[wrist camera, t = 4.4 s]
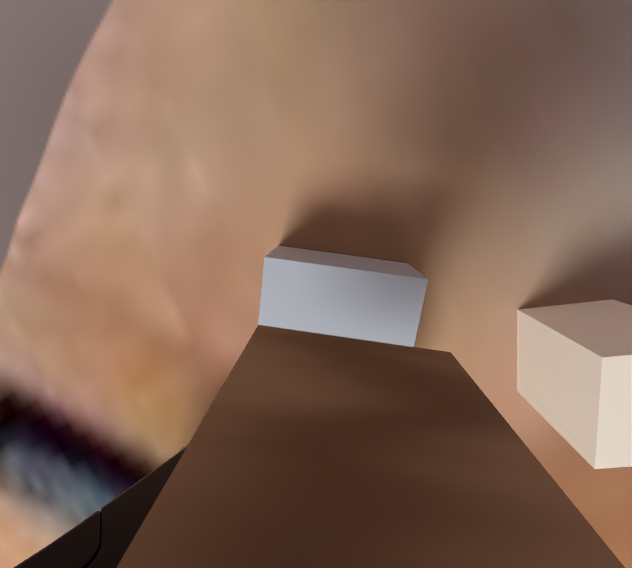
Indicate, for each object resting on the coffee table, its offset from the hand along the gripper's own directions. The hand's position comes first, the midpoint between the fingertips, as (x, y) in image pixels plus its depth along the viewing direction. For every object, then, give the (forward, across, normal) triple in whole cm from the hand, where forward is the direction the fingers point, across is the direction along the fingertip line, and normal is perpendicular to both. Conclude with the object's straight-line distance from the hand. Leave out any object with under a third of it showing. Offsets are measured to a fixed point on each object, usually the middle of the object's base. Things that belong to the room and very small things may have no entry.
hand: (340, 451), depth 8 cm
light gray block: (+11, 0, 0) cm, 11 cm away
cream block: (+11, -13, 0) cm, 17 cm away
